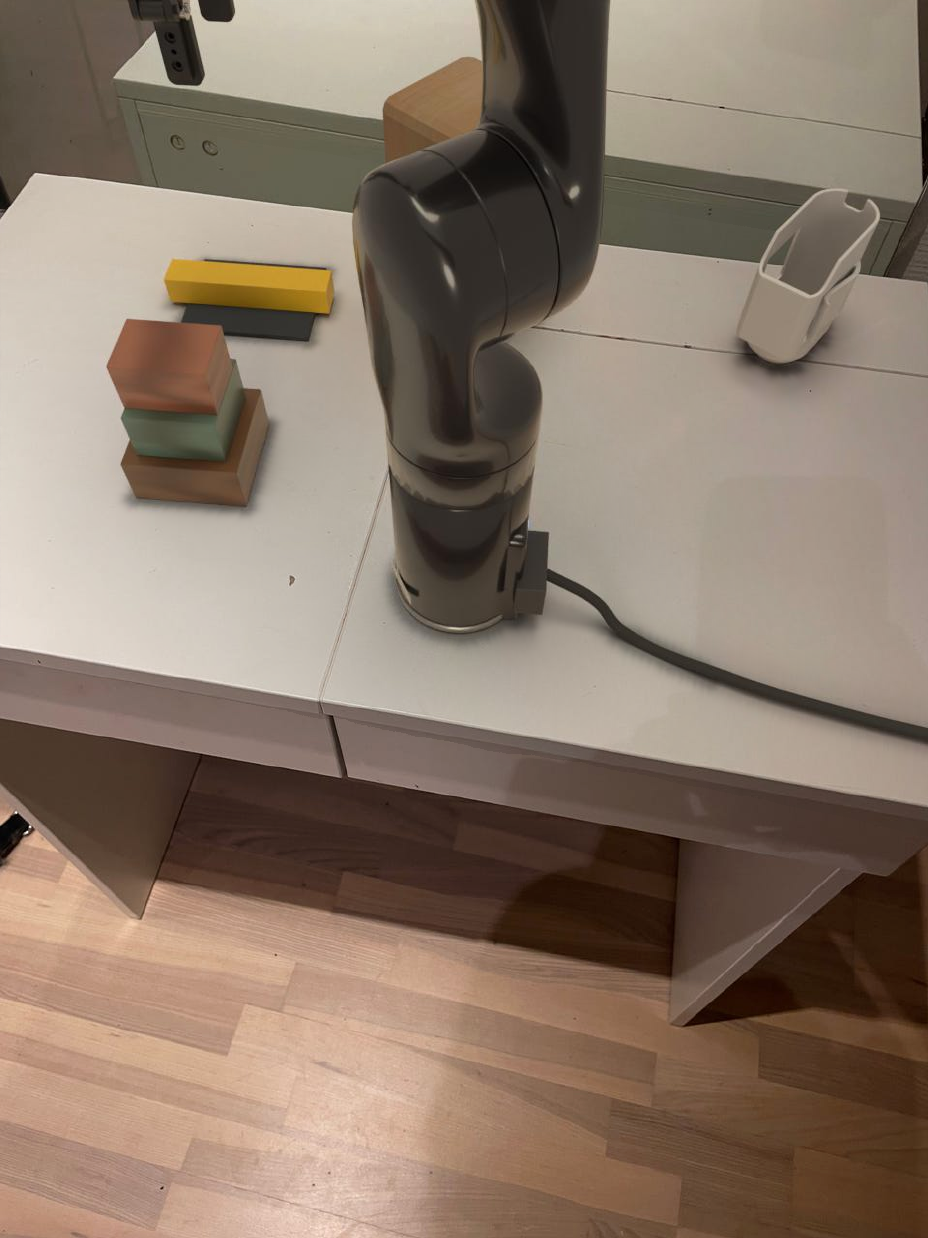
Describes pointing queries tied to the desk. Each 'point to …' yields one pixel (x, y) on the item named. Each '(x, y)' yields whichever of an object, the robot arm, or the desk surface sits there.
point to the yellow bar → (250, 286)
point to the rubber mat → (253, 316)
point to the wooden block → (433, 108)
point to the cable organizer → (807, 276)
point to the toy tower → (186, 414)
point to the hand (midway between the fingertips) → (204, 49)
